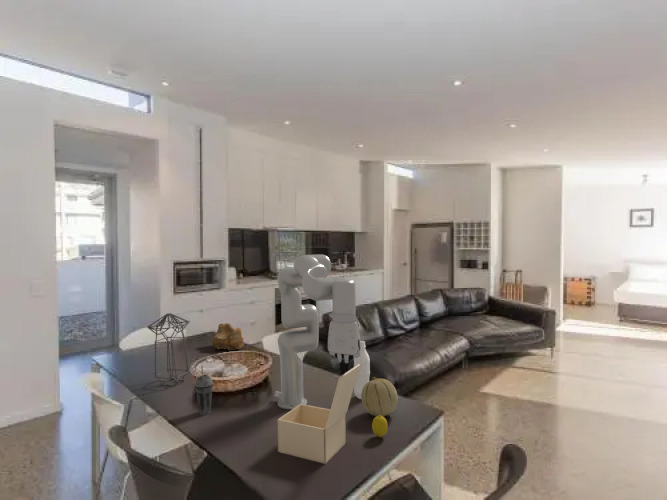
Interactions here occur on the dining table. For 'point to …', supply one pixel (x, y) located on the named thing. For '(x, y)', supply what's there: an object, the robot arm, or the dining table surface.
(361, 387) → the water bottle
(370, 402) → the cantaloupe
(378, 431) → the lemon
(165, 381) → the geometric lantern
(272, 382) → the dining table surface
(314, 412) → the carton
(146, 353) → the dining table surface
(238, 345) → the rough brown rock
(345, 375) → the carton lid
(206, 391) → the beverage cup
